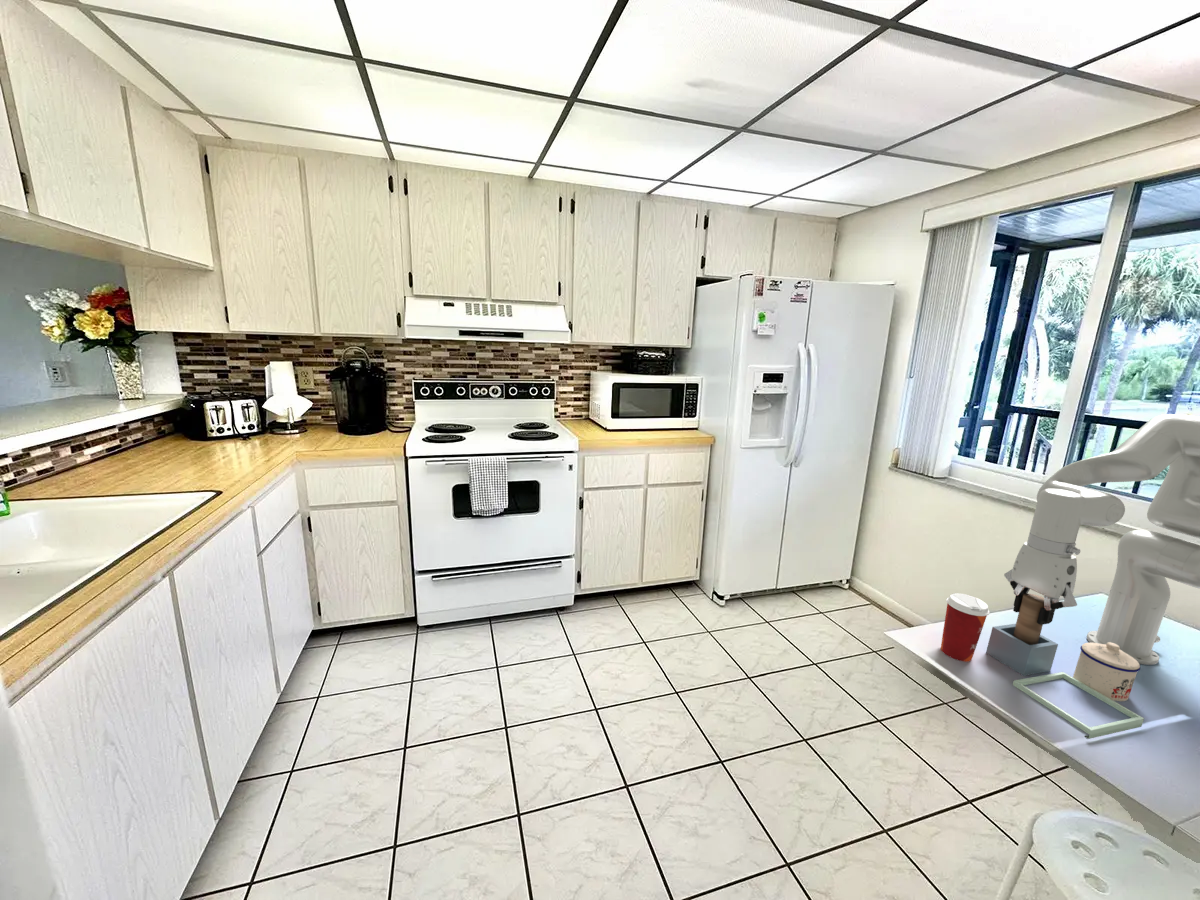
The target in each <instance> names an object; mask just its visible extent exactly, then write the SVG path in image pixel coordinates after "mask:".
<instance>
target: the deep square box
mask: <svg viewBox="0 0 1200 900" xmlns="http://www.w3.org/2000/svg"><path fill="white" fill-rule="evenodd" d="M1015 626H1016V623H1010V624H1006V625H1005V624H1004V625H1002V624H1001V625H996V626H992V628H991V632H990V636H989V639H988V644H987V647H986V652H985V653H986V654H987V655H989V656H991V657H992V658H994V659H996V660H997V661H998V662H1001V663H1002V664H1004V665H1005V666H1007V667H1008V668H1010V669H1011V670H1013V671H1015V672H1016V673H1019V674H1020V675H1021V676H1029V675H1036V674H1042V673H1048V672H1051V670H1052V667H1053V663H1054V661H1055V657H1056V653H1057V650H1058V647H1059V644H1058V643H1056V642H1055V641H1053V640H1051V639H1049V638H1047V637H1045V636H1043V635H1042V634H1040V637H1039V641H1038V644H1034V645H1028V644H1026V643H1025V642H1023V641H1021V640H1019V639H1017V638H1016V637H1014V636H1013V634H1014V630H1015Z"/></svg>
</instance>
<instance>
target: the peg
mask: <svg viewBox="0 0 1200 900" xmlns="http://www.w3.org/2000/svg"><path fill="white" fill-rule="evenodd" d="M1041 608H1044V596H1040V595H1037V594H1033V593H1027V594H1024V595H1023V598H1022V602H1021V606H1020V610H1019V612H1018V613H1017V614H1018V615H1017V619H1016V622H1015V624H1016V626H1015V630H1014V634H1013V636H1014V637H1016V638H1017V639H1019V640H1021V641H1023V642H1025V643H1026V644H1028V645H1034V644H1038V641H1039V637H1040V635H1042V629H1043V625H1044V624H1043V625H1040V624H1038V623H1037V620H1038V616H1039V612H1040V609H1041Z"/></svg>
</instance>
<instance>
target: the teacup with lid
mask: <svg viewBox="0 0 1200 900" xmlns="http://www.w3.org/2000/svg"><path fill="white" fill-rule="evenodd" d="M1140 670H1141V664H1139V663H1138V661H1137V660H1136V659H1134V658H1133V657H1132V656H1130V655H1128V654H1126V653H1125V652H1123V651H1122V650H1120V647H1119V646H1118V645H1117V644H1115V643H1111V642H1108V643H1107V644H1099V643H1090V642H1085V643H1083V644H1082V645H1080V653H1079V656H1078V659H1077V662H1076V665H1075V670H1074V673H1073V676H1072V677H1073V678H1075V679H1076V680H1078V681H1080V682H1082V683H1083V684H1085V685H1087V686H1089V687H1090V688H1092V689H1094V690H1096V691H1097V692H1099V693H1101V694H1103V695H1104V696H1106V697H1108V698H1110V699H1111V700H1113V701H1115V702H1125V701H1128V700H1129V697H1130V694H1131V692H1132V688H1133V686H1134V683H1135V679H1136V676H1137V674H1138V672H1139V671H1140Z"/></svg>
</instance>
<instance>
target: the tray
mask: <svg viewBox="0 0 1200 900" xmlns="http://www.w3.org/2000/svg"><path fill="white" fill-rule="evenodd" d="M1061 679H1064V680H1066V681H1067V682H1068V683H1071V684H1072V685H1074V686H1076V687H1077V688H1080V689H1081V690H1083V691H1085V692H1086V693H1088V694H1090V695H1091V696H1094V697H1095V698H1096V699H1098V700H1100V701H1102V702H1103V703H1105V704H1107V705H1109V706H1110V707H1112V708H1113V709H1116V710H1117V711H1119V712H1120V713H1123V714H1124V715H1125V716H1127V717H1130V718H1126V719H1122V720H1117V721H1112V722H1108V723H1103V724H1098V725H1095V726H1094V725H1093V726H1088V725H1087V724H1085V723H1083V722H1082V721H1080V720H1079V719H1077V718H1076V717H1074V716H1073V715H1071V714H1070V713H1068V712H1066V711H1065V710H1063V709H1062V708H1060V707H1059V706H1057V705H1055V704H1053V702H1051V701H1050V700H1048V699H1046V698H1044V697H1042V696H1041V695H1039V694H1038V693H1037V692H1035V691H1034V690H1032V689H1030V688H1029V687H1027V685H1032V684H1038V683H1043V682H1048V681H1054V680H1055V681H1056V680H1061ZM1012 686H1014V687H1015V688H1017V689H1018V690H1020V691H1022V693H1024V694H1026V695H1028V696H1029V697H1031V698H1032V699H1034V700H1035V701H1037V702H1038V703H1040V704H1042V705H1043V706H1045V707H1046V708H1047V709H1049V710H1050V711H1052V712H1053V713H1056V714H1057V715H1058V716H1060V717H1062V719H1065V720H1066V721H1067V722H1069V723H1071V724H1072V725H1074V726H1075V727H1077V728H1078V729H1080V730H1081V731H1082V732H1084V733H1086V734H1088V735H1084V737H1085V738H1086V739H1088V740H1089V739H1090V740H1091V739H1094V738H1095V739H1096V738H1099V737H1103V736H1107V735H1112V734H1115V733H1116V734H1117V733H1120V732H1126V731H1129V730H1134V729H1137V728H1141V727H1142V726H1143V724H1144V720H1145V718H1144V717H1142V716H1141V715H1139V714H1137V713H1136V712H1134V711H1133V710H1130V709H1128V708H1127V707H1125V706H1124V705H1122V704H1120V703H1118V701H1114V700H1111V699H1110V698H1108V697H1106V696H1104V695H1103V694H1101V693H1099V692H1097V691H1096V690H1094V689H1092V688H1090V687H1089V686H1087V685H1085V684H1083V683H1082V682H1080V681H1078V680H1076V679H1075V678H1073V676H1071V675H1069V674H1068V673H1066V672H1064V671H1061V672H1055V673H1049V674H1048V673H1047V674H1044V675H1038V676H1033V677H1027V678H1026V677H1025V678H1020V679H1015V680H1013V682H1012Z"/></svg>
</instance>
